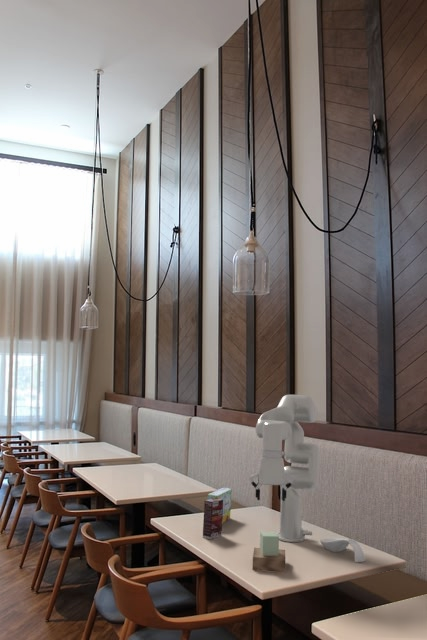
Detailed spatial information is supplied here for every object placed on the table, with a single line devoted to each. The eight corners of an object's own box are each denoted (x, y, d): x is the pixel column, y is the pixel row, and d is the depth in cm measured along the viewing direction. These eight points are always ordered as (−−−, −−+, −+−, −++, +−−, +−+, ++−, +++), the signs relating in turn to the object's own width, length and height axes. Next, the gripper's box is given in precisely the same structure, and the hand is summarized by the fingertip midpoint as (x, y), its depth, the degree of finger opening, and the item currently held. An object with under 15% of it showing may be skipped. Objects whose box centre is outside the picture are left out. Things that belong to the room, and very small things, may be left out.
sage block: (275, 550, 215) (275, 532, 215) (278, 555, 209) (278, 536, 210) (260, 550, 214) (260, 531, 215) (262, 555, 208) (263, 536, 209)
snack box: (216, 528, 262) (217, 495, 264) (205, 526, 264) (206, 494, 266) (231, 518, 282) (232, 488, 283) (220, 517, 284) (221, 486, 285)
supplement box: (210, 539, 243) (212, 502, 245) (202, 537, 246) (203, 500, 248) (222, 535, 250) (223, 499, 252) (214, 533, 253) (215, 497, 255)
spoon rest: (314, 547, 239) (315, 529, 239) (337, 544, 243) (337, 527, 244) (348, 564, 217) (349, 545, 218) (373, 561, 222) (373, 543, 222)
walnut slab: (284, 563, 216) (285, 549, 217) (285, 573, 204) (285, 559, 205) (253, 560, 218) (254, 547, 218) (252, 571, 206) (252, 556, 206)
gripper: (292, 453, 220) (291, 498, 218) (248, 452, 219) (247, 497, 217) (295, 456, 212) (294, 502, 210) (250, 455, 212) (249, 501, 210)
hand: (270, 499), depth 214 cm, fingers open, 9 cm apart
